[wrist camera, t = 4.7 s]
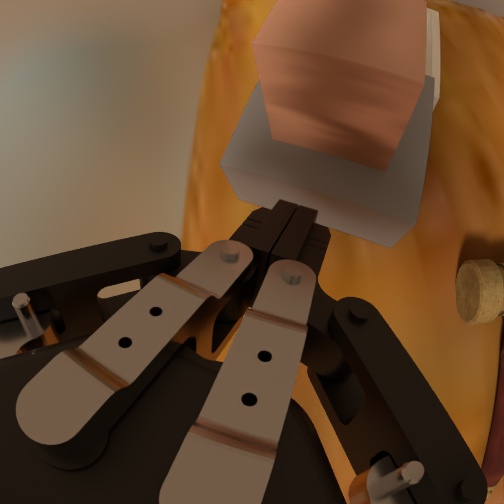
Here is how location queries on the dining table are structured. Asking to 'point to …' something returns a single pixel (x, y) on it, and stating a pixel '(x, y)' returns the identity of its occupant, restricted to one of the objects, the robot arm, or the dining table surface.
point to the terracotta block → (342, 74)
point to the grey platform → (333, 175)
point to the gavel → (486, 310)
